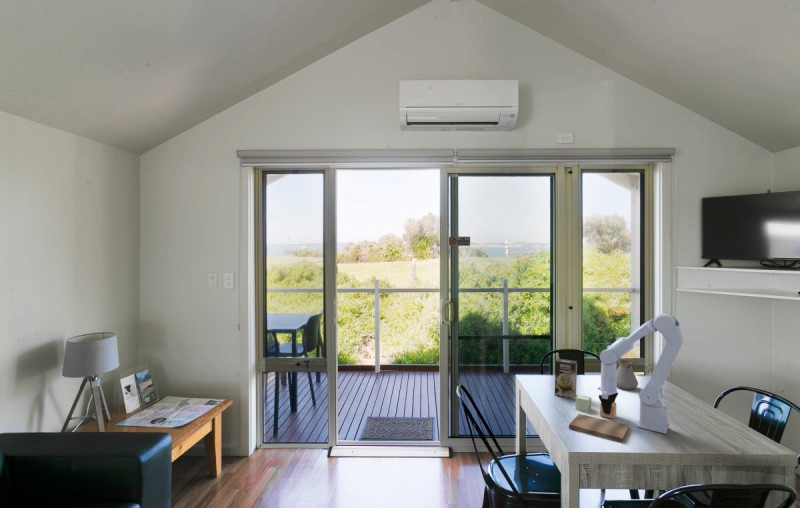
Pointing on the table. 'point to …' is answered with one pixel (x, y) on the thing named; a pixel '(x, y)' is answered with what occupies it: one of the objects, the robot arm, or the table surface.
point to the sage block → (583, 403)
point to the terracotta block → (612, 413)
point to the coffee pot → (626, 375)
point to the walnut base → (599, 427)
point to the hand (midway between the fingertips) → (608, 411)
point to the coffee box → (565, 378)
